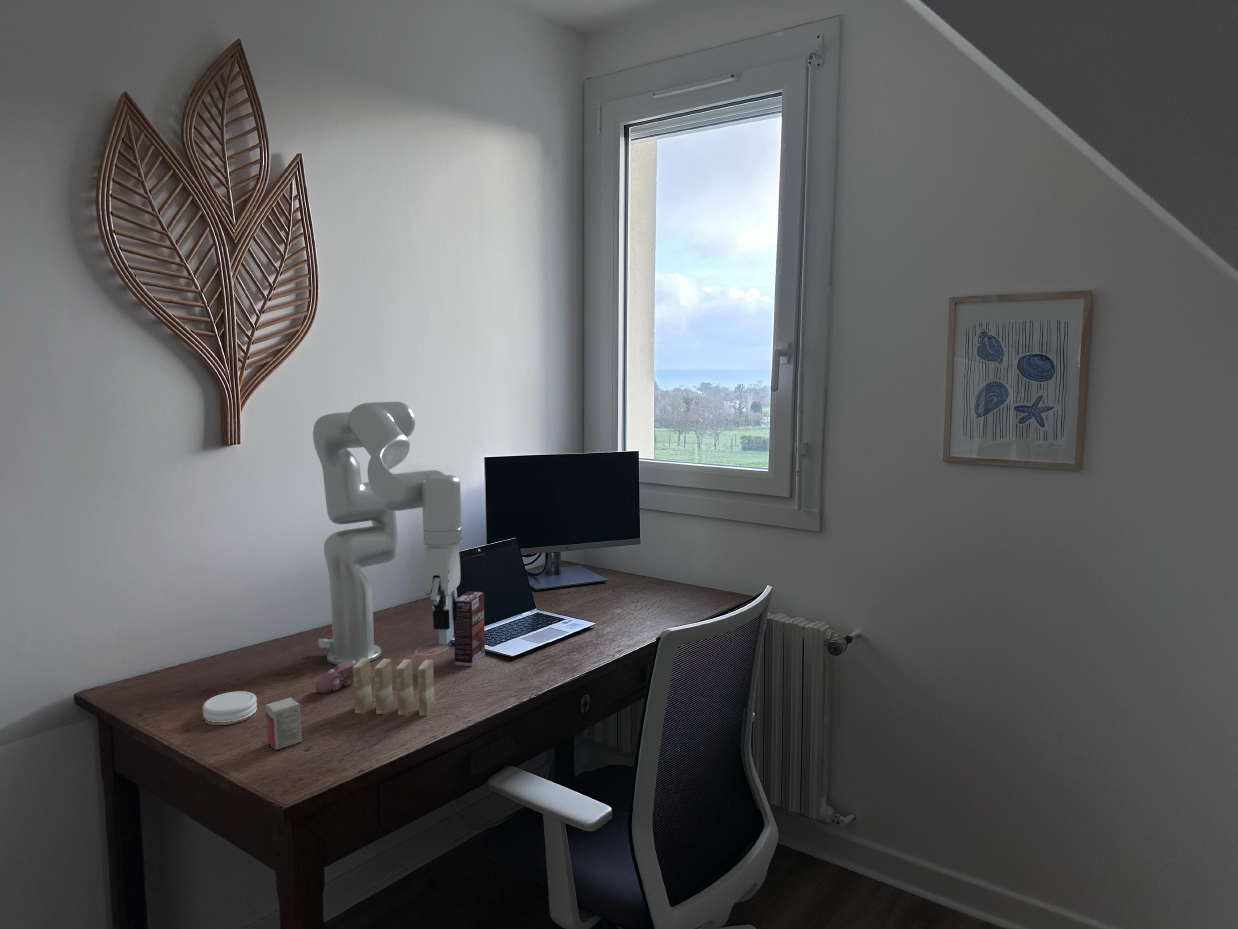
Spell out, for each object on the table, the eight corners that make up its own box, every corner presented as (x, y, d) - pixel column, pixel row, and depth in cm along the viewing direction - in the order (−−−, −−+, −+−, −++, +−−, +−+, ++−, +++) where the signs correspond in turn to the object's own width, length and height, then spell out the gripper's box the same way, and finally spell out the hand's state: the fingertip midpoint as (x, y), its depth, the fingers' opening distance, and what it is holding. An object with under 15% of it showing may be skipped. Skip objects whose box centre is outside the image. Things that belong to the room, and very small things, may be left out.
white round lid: (253, 723, 162) (252, 707, 161) (198, 730, 159) (197, 713, 159) (260, 703, 171) (259, 688, 171) (208, 709, 169) (207, 693, 168)
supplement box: (473, 667, 191) (471, 602, 189) (454, 665, 192) (452, 600, 190) (486, 654, 199) (484, 591, 197) (468, 652, 200) (466, 590, 198)
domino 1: (355, 714, 166) (353, 667, 164) (364, 703, 171) (362, 658, 169) (362, 714, 166) (360, 667, 164) (372, 704, 171) (370, 658, 169)
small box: (293, 735, 156) (291, 696, 155) (302, 743, 153) (300, 703, 152) (266, 743, 153) (264, 704, 152) (275, 751, 150) (272, 711, 149)
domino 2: (376, 714, 165) (374, 667, 164) (385, 704, 170) (383, 658, 169) (384, 714, 165) (382, 668, 164) (392, 704, 170) (391, 659, 169)
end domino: (439, 644, 162) (437, 595, 161) (446, 635, 167) (444, 588, 166) (446, 644, 162) (445, 595, 161) (453, 635, 167) (452, 588, 166)
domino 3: (397, 715, 165) (396, 668, 164) (406, 705, 170) (404, 659, 169) (405, 715, 165) (403, 668, 164) (413, 705, 170) (411, 659, 169)
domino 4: (419, 716, 165) (417, 669, 163) (427, 705, 170) (425, 659, 168) (427, 716, 165) (425, 669, 163) (434, 705, 170) (432, 660, 168)
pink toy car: (324, 703, 175) (333, 678, 173) (311, 690, 177) (319, 665, 174) (360, 687, 183) (369, 663, 181) (347, 675, 185) (356, 651, 183)
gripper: (437, 528, 171) (440, 611, 173) (410, 546, 154) (414, 638, 156) (472, 528, 170) (474, 612, 172) (449, 546, 153) (452, 639, 156)
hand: (445, 623), depth 164 cm, fingers closed on end domino, 4 cm apart
